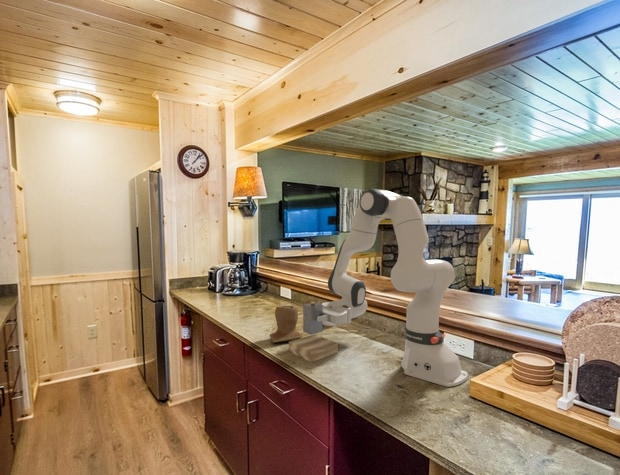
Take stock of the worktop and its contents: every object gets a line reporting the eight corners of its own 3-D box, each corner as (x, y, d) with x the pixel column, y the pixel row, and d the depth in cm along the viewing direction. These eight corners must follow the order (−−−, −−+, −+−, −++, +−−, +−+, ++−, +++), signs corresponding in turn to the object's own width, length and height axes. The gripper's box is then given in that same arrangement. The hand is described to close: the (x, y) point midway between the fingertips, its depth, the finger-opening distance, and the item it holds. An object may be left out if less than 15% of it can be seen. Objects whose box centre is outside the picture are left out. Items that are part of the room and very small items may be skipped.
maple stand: (337, 353, 140) (337, 343, 140) (310, 362, 131) (310, 351, 131) (315, 343, 151) (315, 334, 150) (288, 351, 142) (288, 341, 142)
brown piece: (293, 332, 165) (293, 301, 164) (305, 340, 155) (305, 306, 154) (263, 337, 158) (263, 305, 157) (274, 346, 147) (273, 311, 147)
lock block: (322, 331, 141) (322, 301, 140) (311, 334, 137) (311, 304, 136) (314, 328, 144) (314, 299, 144) (303, 331, 141) (303, 301, 140)
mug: (320, 328, 171) (320, 307, 171) (312, 323, 179) (312, 304, 178) (341, 325, 177) (341, 305, 176) (332, 320, 184) (332, 301, 183)
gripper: (320, 299, 156) (295, 304, 147) (353, 308, 140) (328, 315, 132) (320, 313, 157) (295, 318, 148) (353, 324, 141) (328, 331, 132)
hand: (311, 317), depth 140 cm, fingers closed on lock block, 5 cm apart
